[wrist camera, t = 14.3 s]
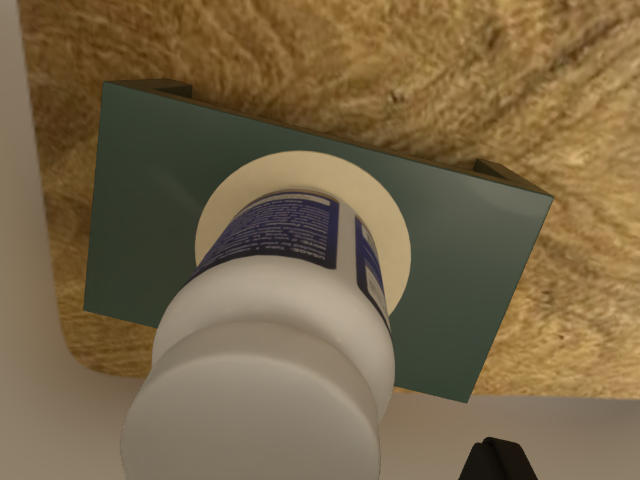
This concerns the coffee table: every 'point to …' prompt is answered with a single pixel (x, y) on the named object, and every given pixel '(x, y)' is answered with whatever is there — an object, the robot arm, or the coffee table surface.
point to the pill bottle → (270, 353)
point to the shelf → (320, 174)
